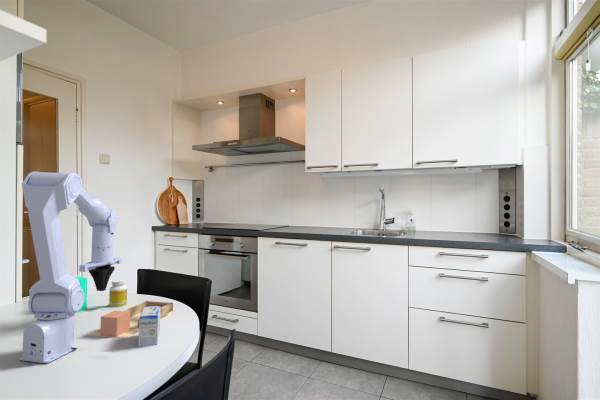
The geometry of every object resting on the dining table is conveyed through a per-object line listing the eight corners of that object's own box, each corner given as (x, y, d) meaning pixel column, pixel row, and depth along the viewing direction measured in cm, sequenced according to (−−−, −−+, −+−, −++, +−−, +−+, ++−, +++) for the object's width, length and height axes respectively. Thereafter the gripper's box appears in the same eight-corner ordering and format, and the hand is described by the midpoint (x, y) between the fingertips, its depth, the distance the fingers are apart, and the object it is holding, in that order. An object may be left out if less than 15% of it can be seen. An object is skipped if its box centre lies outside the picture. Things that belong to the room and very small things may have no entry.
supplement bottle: (107, 307, 110) (108, 279, 110) (124, 304, 113) (125, 277, 113) (110, 311, 105) (111, 282, 106) (127, 308, 109) (128, 280, 109)
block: (116, 336, 83) (117, 318, 83) (100, 335, 84) (100, 316, 84) (129, 329, 88) (130, 311, 88) (114, 328, 89) (114, 310, 89)
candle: (67, 308, 108) (69, 273, 108) (88, 306, 110) (89, 272, 111) (63, 313, 102) (64, 277, 103) (84, 311, 105) (86, 275, 105)
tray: (125, 342, 82) (126, 329, 82) (86, 338, 84) (87, 325, 84) (175, 313, 104) (175, 303, 104) (143, 310, 106) (144, 300, 106)
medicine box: (141, 338, 84) (142, 306, 85) (159, 336, 86) (160, 305, 86) (137, 351, 77) (139, 316, 77) (157, 349, 79) (158, 314, 79)
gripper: (94, 250, 89) (92, 297, 89) (130, 244, 104) (129, 285, 103) (73, 249, 91) (72, 296, 90) (111, 244, 105) (110, 284, 105)
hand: (101, 290), depth 97 cm, fingers closed
